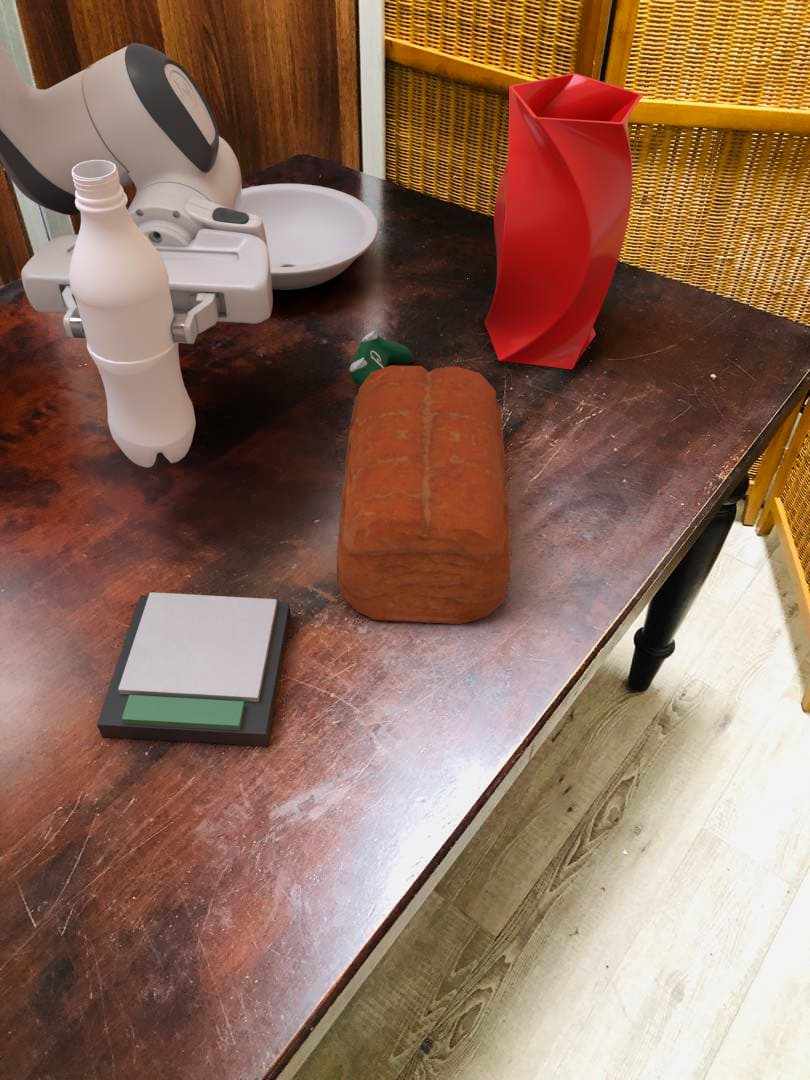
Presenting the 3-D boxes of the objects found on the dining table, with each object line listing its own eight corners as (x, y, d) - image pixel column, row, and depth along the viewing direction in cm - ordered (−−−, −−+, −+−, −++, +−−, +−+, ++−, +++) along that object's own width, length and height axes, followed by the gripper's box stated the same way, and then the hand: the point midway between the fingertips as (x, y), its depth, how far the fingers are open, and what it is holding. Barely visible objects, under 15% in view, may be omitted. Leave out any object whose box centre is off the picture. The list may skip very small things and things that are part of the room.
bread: (496, 432, 96) (507, 350, 88) (509, 627, 77) (524, 545, 69) (353, 427, 96) (351, 344, 88) (332, 621, 77) (328, 537, 69)
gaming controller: (394, 369, 106) (359, 334, 104) (417, 353, 104) (381, 317, 101) (377, 416, 100) (339, 380, 97) (401, 400, 98) (363, 363, 95)
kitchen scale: (101, 737, 69) (94, 719, 67) (144, 607, 78) (138, 589, 76) (267, 746, 68) (265, 729, 67) (291, 616, 77) (289, 597, 76)
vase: (466, 354, 106) (488, 111, 85) (493, 294, 115) (518, 63, 95) (592, 378, 103) (645, 133, 83) (608, 314, 113) (659, 81, 92)
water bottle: (103, 441, 78) (23, 162, 60) (177, 413, 82) (121, 138, 63) (138, 487, 75) (63, 203, 56) (214, 455, 78) (165, 176, 59)
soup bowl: (158, 279, 115) (149, 232, 111) (278, 212, 129) (274, 167, 125) (300, 342, 106) (297, 293, 102) (412, 262, 120) (414, 216, 115)
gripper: (43, 205, 76) (-17, 290, 66) (280, 217, 75) (253, 304, 66) (62, 271, 80) (8, 360, 71) (285, 283, 80) (261, 373, 71)
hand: (128, 333), depth 68 cm, fingers closed on water bottle, 7 cm apart
